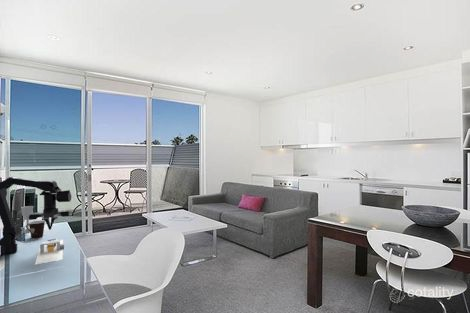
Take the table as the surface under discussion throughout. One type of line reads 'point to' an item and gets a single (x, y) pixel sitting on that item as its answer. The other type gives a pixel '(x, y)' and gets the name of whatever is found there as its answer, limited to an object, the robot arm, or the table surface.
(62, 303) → the table surface
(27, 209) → the chalice
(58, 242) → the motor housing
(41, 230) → the coffee mug
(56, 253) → the mount plate
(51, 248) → the plug
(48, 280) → the table surface
